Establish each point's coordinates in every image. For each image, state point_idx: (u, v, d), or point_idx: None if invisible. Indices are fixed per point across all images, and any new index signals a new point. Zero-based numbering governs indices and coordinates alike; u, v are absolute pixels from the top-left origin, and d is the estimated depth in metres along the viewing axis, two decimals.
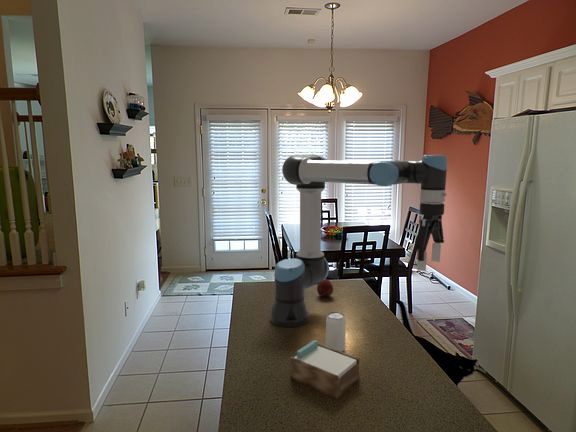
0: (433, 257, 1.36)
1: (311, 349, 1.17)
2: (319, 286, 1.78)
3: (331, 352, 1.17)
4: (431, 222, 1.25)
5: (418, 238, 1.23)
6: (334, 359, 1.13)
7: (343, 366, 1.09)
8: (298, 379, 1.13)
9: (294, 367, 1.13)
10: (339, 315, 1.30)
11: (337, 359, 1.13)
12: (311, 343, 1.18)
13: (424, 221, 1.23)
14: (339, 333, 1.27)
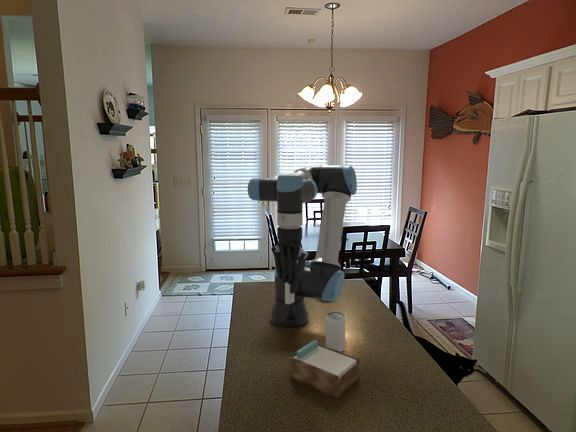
0: None
1: (311, 349, 1.17)
2: None
3: (331, 352, 1.17)
4: (280, 245, 1.17)
5: None
6: (334, 359, 1.13)
7: (343, 366, 1.09)
8: (298, 379, 1.13)
9: (294, 367, 1.13)
10: (339, 315, 1.30)
11: (337, 359, 1.13)
12: (311, 343, 1.18)
13: None
14: (339, 333, 1.27)
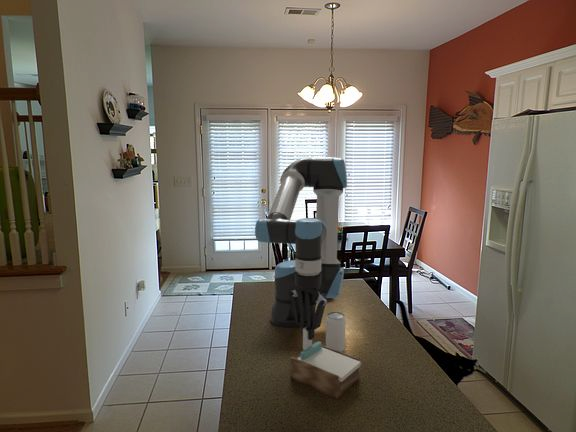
0: None
1: (315, 351, 1.17)
2: None
3: (335, 354, 1.16)
4: (298, 290, 1.15)
5: None
6: (338, 361, 1.12)
7: (347, 368, 1.08)
8: (298, 379, 1.13)
9: (294, 367, 1.13)
10: (339, 315, 1.30)
11: (341, 360, 1.12)
12: (315, 345, 1.17)
13: None
14: (339, 333, 1.27)
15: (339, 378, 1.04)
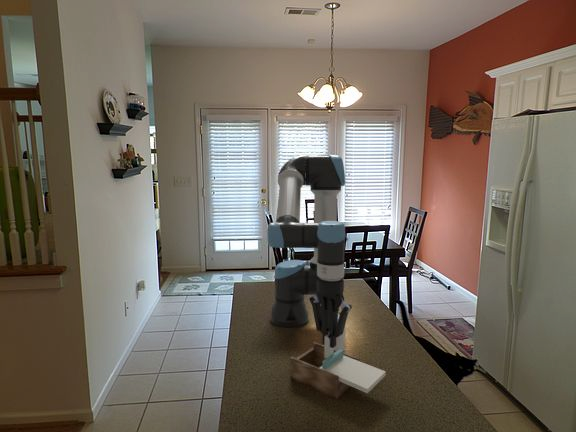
0: None
1: (337, 359, 1.12)
2: None
3: (358, 362, 1.11)
4: (319, 296, 1.10)
5: None
6: (362, 371, 1.07)
7: (372, 378, 1.03)
8: (298, 379, 1.13)
9: (294, 367, 1.13)
10: (339, 315, 1.30)
11: (365, 370, 1.07)
12: (336, 353, 1.12)
13: None
14: None
15: (365, 389, 0.99)
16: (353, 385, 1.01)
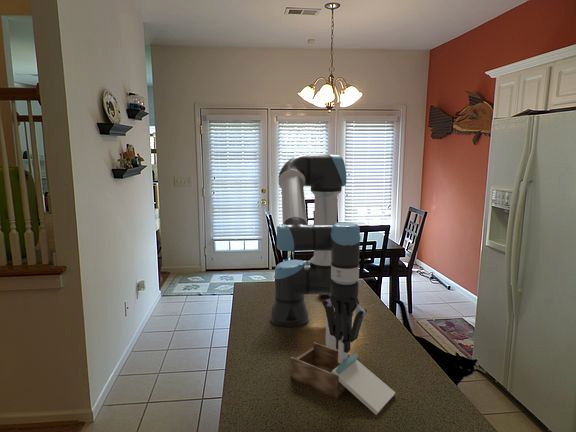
0: None
1: (350, 364, 1.09)
2: None
3: (369, 373, 1.09)
4: (333, 299, 1.07)
5: None
6: (374, 386, 1.05)
7: (383, 399, 1.02)
8: (298, 379, 1.13)
9: (294, 367, 1.13)
10: None
11: (376, 385, 1.05)
12: (352, 358, 1.09)
13: None
14: None
15: (375, 411, 0.98)
16: (364, 402, 1.00)
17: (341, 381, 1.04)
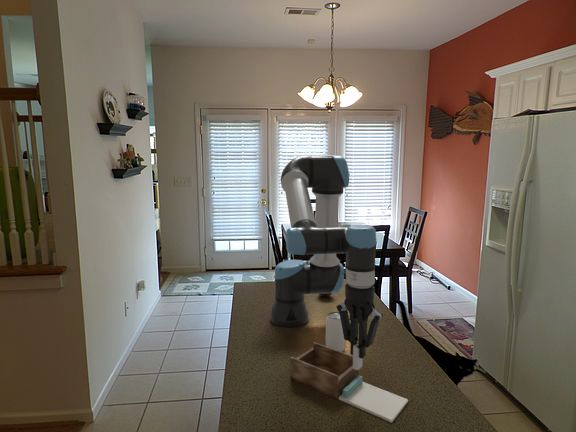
0: None
1: (356, 386, 1.08)
2: None
3: (378, 390, 1.08)
4: (348, 304, 1.04)
5: None
6: (384, 399, 1.03)
7: (395, 408, 1.00)
8: (298, 379, 1.13)
9: (294, 367, 1.13)
10: (339, 315, 1.30)
11: (387, 398, 1.04)
12: (356, 380, 1.09)
13: None
14: (339, 333, 1.27)
15: (389, 420, 0.96)
16: None
17: None
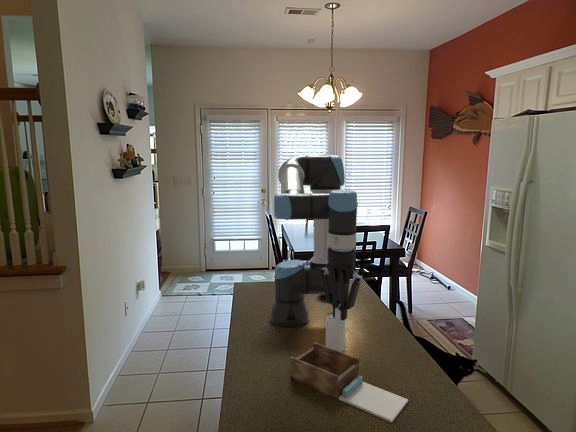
0: None
1: (356, 386, 1.08)
2: None
3: (378, 389, 1.08)
4: (330, 267, 1.07)
5: None
6: (384, 399, 1.03)
7: (395, 408, 1.00)
8: (298, 379, 1.13)
9: (294, 367, 1.13)
10: None
11: (387, 398, 1.04)
12: (356, 380, 1.09)
13: None
14: (339, 333, 1.27)
15: (389, 420, 0.96)
16: None
17: None
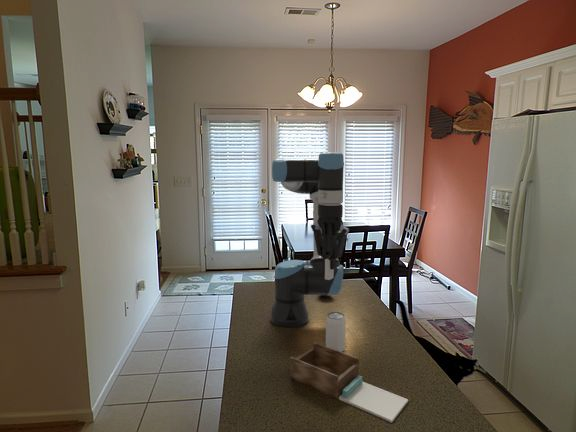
0: None
1: (356, 386, 1.08)
2: None
3: (378, 389, 1.08)
4: (320, 222, 1.20)
5: None
6: (384, 399, 1.03)
7: (395, 408, 1.00)
8: (298, 379, 1.13)
9: (294, 367, 1.13)
10: (339, 315, 1.30)
11: (387, 398, 1.04)
12: (356, 380, 1.09)
13: None
14: (339, 333, 1.27)
15: (389, 421, 0.96)
16: None
17: None
